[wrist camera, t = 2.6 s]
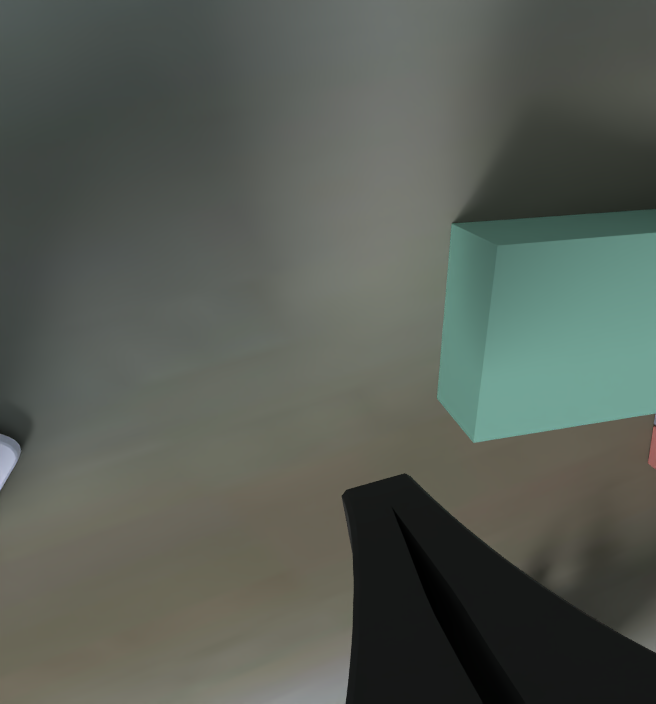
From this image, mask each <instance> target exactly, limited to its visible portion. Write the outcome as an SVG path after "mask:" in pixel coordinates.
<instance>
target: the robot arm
mask: <svg viewBox="0 0 656 704" xmlns="http://www.w3.org/2000/svg"><path fill="white" fill-rule="evenodd" d="M20 453H21V449H20V445H19V444H18V443H17V442H16V440H14V439H12V438H10V437H8V436H5V435H3V434H0V490H1V488H2V487H3V485H4V483H5V482H6V480H7V478H8V477H9V475H10V473H11V471H12V470H13V468H14V466H15V465H16V463H17V461H18V459H19V457H20ZM342 500H343V506H344V511H345V516H346V521H347V527H348V532H349V537H350V543H351V548H352V553H353V574H354V598H353V630H352V646H351V659H350V669H349V679H348V689H347V697H346V704H656V653H655V652H653V651H651V650H649V649H647V648H645V647H644V646H642V645H640V644H638V643H636V642H634V641H632V640H630V639H629V638H627V637H625V636H623V635H621V634H619V633H618V632H616V631H614V630H613V629H611V628H609V627H608V626H606V625H604V624H602V623H601V622H599V621H597V620H596V619H594V618H592V617H591V616H589V615H587V614H586V613H584V612H582V611H581V610H579V609H578V608H576V607H575V606H573V605H571V604H570V603H568V602H567V601H565V600H564V599H562V598H560V597H559V596H557V595H556V594H554V593H553V592H551V591H550V590H548V589H547V588H545V587H544V586H542V585H541V584H540V583H538V582H537V581H535V580H534V579H532V578H531V577H529V576H528V575H527V574H525V573H524V572H523V571H521V570H520V569H519V568H517V567H516V566H514V565H513V564H512V563H510V562H509V561H508V560H506V559H505V558H504V557H502V556H501V555H500V554H498V553H497V552H496V551H495V550H493V549H492V548H491V547H489V546H488V545H487V544H486V543H484V542H483V541H482V540H481V539H480V538H478V537H477V536H476V535H475V534H473V533H472V532H471V531H470V530H469V529H467V528H466V527H465V526H464V525H462V524H461V523H460V522H459V521H458V520H457V519H455V518H454V517H453V516H452V515H451V514H450V513H449V512H448V511H446V510H445V509H444V508H443V507H442V506H441V505H440V504H439V503H438V502H436V501H435V500H434V499H433V498H432V497H431V496H430V495H429V494H428V493H427V492H426V491H425V490H424V489H423V488H422V487H421V486H420V485H419V484H418V483H417V482H416V481H415V480H414V479H413V478H412V477H411V476H409V475H407V474H405V473H404V474H401V475H397V476H394V477H390V478H387V479H383V480H380V481H376V482H372V483H369V484H365V485H362V486H358V487H355V488H351V489H348V490H346V491H345V492H344V494H343V495H342Z"/></svg>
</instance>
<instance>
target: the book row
mask: <svg viewBox="0 0 656 704" xmlns="http://www.w3.org/2000/svg"><path fill="white" fill-rule="evenodd" d="M654 424H655V425H656V415H655V421H654ZM648 463H649V464H650V465H651V466H652V467H654V468H655V469H656V426H654V428H653V434H652V440H651V447H650V453H649V460H648Z"/></svg>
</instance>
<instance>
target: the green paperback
mask: <svg viewBox="0 0 656 704" xmlns="http://www.w3.org/2000/svg"><path fill="white" fill-rule="evenodd" d="M437 399H438V400H439V401H440V403H441V404H442V405H443V406H444V407H445V409H446V410H447V411H448V412H449V414H450V415H451V416H452V417H453V418H454V420H455V421H456V422H457V423H458V424H459V426H460V427H461V428H462V429H463V431H464V432H465V433H466V434H467V435H468V437H469V438H470V439H471V440H472V441H473V443H475V442H481V441H487V440H493V439H499V438H506V437H512V436H518V435H524V434H530V433H537V432H543V431H549V430H555V429H561V428H568V427H574V426H580V425H586V424H593V423H599V422H605V421H611V420H617V419H624V418H630V417H636V416H642V415H648V414H655V413H656V209H649V210H635V211H621V212H607V213H593V214H579V215H565V216H551V217H536V218H522V219H508V220H494V221H480V222H466V223H452V226H451V238H450V250H449V262H448V274H447V286H446V298H445V310H444V322H443V334H442V346H441V358H440V370H439V382H438V394H437Z"/></svg>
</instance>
